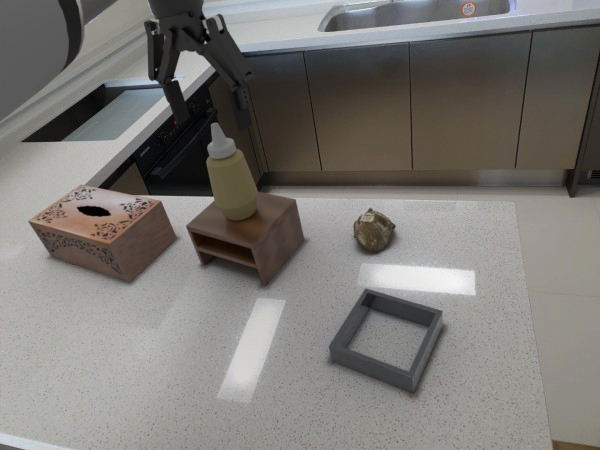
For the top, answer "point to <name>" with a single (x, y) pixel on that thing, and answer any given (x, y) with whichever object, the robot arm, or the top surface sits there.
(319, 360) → the top surface
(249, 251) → the wooden shelf
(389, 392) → the top surface
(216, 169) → the squeeze bottle
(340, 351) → the holder
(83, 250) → the tissue box cover
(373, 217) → the fossilized seashell
